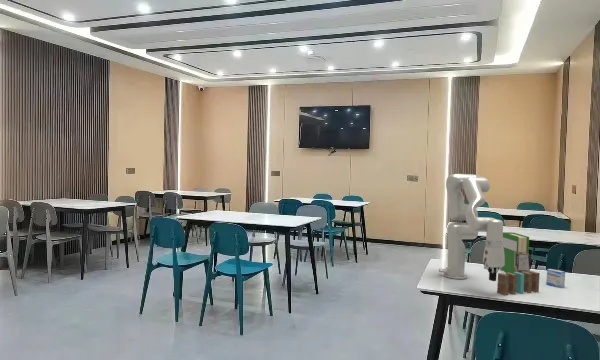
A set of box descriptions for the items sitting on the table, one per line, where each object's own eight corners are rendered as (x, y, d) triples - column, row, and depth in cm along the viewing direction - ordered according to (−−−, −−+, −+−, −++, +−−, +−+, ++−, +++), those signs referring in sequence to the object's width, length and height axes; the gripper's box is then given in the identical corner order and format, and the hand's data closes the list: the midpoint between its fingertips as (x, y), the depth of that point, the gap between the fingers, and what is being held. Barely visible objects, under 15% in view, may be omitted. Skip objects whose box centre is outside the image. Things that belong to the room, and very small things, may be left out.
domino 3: (528, 293, 227) (529, 273, 227) (520, 290, 232) (521, 271, 231) (531, 292, 228) (532, 273, 227) (523, 290, 232) (524, 271, 232)
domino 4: (535, 292, 229) (536, 273, 228) (527, 289, 233) (528, 271, 233) (538, 292, 229) (539, 273, 229) (530, 289, 234) (531, 270, 234)
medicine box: (545, 284, 246) (546, 269, 245) (549, 283, 248) (550, 268, 248) (560, 288, 239) (561, 272, 239) (564, 287, 242) (565, 271, 242)
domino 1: (504, 295, 221) (505, 275, 221) (497, 292, 226) (498, 273, 226) (507, 294, 222) (508, 275, 222) (500, 292, 227) (501, 272, 227)
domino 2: (512, 294, 223) (513, 274, 223) (505, 291, 228) (505, 272, 228) (515, 294, 224) (516, 274, 224) (507, 291, 229) (508, 272, 228)
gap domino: (515, 290, 231) (516, 271, 230) (523, 293, 226) (524, 274, 226) (512, 291, 230) (513, 272, 230) (520, 293, 225) (521, 274, 225)
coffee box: (529, 283, 246) (531, 255, 246) (517, 282, 248) (518, 254, 247) (525, 280, 255) (526, 252, 255) (513, 279, 256) (514, 251, 256)
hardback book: (527, 276, 263) (529, 236, 262) (515, 276, 263) (517, 236, 262) (511, 270, 281) (513, 232, 280) (500, 269, 280) (502, 232, 280)
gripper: (487, 245, 215) (486, 283, 215) (511, 245, 220) (509, 281, 221) (476, 243, 222) (475, 279, 222) (499, 242, 227) (498, 277, 228)
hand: (492, 280), depth 221 cm, fingers closed
